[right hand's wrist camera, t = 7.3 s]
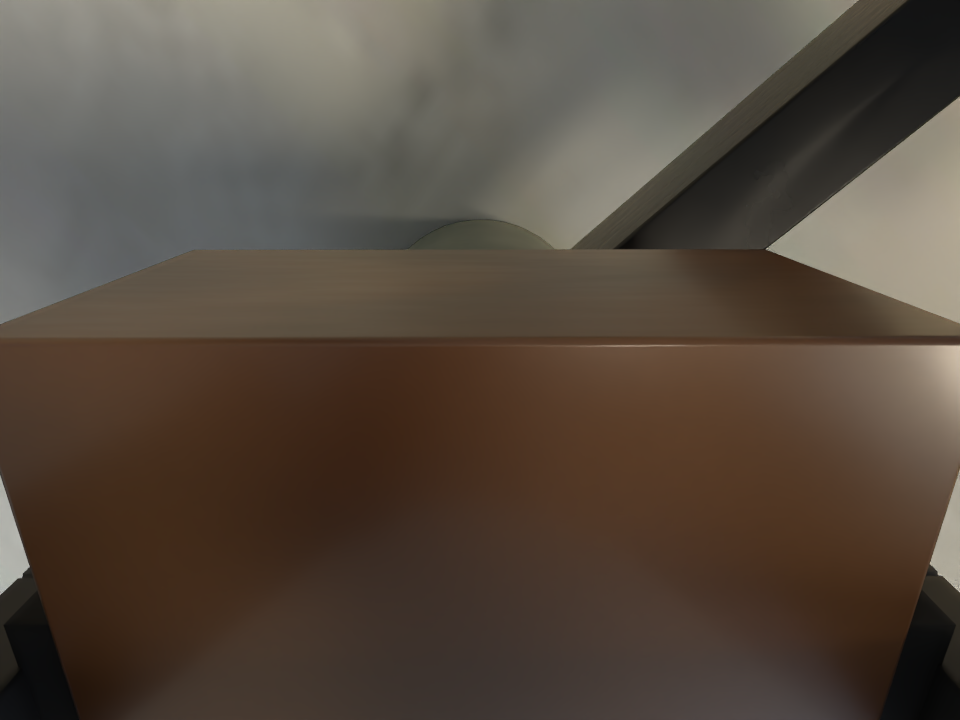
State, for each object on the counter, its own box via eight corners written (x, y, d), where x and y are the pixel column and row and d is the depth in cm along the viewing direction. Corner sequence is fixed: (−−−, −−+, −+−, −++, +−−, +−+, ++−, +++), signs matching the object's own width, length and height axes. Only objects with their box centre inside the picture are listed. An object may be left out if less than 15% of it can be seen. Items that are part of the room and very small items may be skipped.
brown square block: (767, 248, 10) (1005, 337, 6) (695, 680, 14) (807, 959, 9) (191, 249, 10) (-48, 339, 6) (264, 681, 14) (153, 960, 9)
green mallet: (474, 451, 25) (470, 701, 14) (336, 316, 23) (202, 482, 12) (1039, -2, 20) (1803, -194, 8) (922, -235, 17) (1732, -918, 6)
